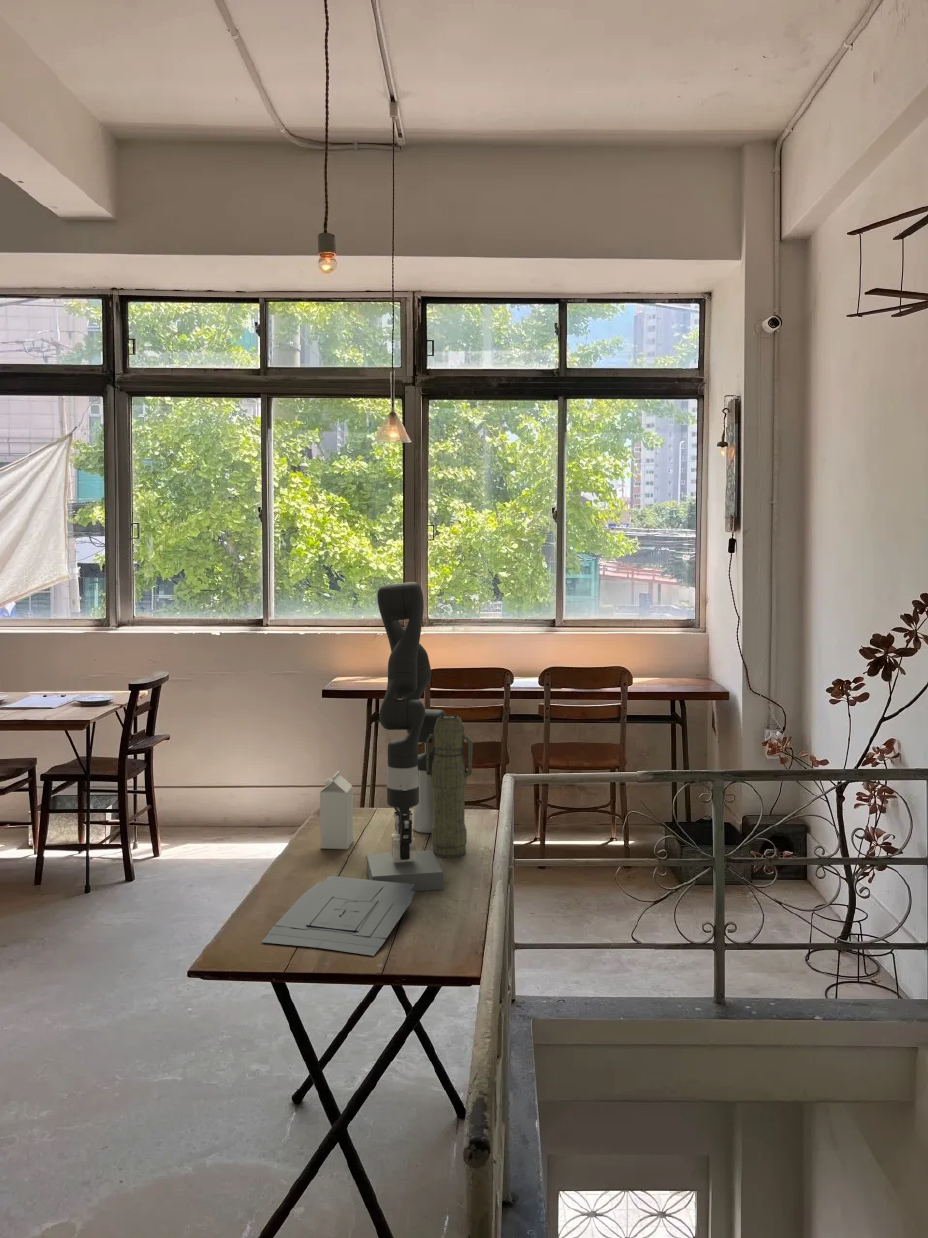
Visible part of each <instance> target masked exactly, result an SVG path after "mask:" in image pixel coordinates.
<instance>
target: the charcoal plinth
mask: <svg viewBox="0 0 928 1238" xmlns="http://www.w3.org/2000/svg"><path fill="white" fill-rule="evenodd" d="M366 873H367V877H368V880H374V881H385V882H396V883H407V884H415V885H414V887H413V888H412V890H411V891H415V892H421V891H432V890H435V891H436V890H443V889H444V887H443V885H444V884H443V881H444V880H443V877H444V876H443V870H442V868H441V865H440V864H439V862H438V860H437V858H436V855H434V853H433V849H432V850H415V860H407V861H394V860H393V857H392V852H383V853H382V852H381V853H380V852H379V853H367V854H366Z"/></svg>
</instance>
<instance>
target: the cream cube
mask: <svg viewBox="0 0 928 1238" xmlns="http://www.w3.org/2000/svg"><path fill="white" fill-rule="evenodd" d="M403 838H408V835H404V836H403ZM399 841H400V840H399V834H398V833H397V834H396V833H391V853H392V857H393V860H394V861H407V860H401V859H400V843H399ZM415 851H416V837H415V836H414V832H412V842H411V843H410V858H409V859H408V860H415Z"/></svg>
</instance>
